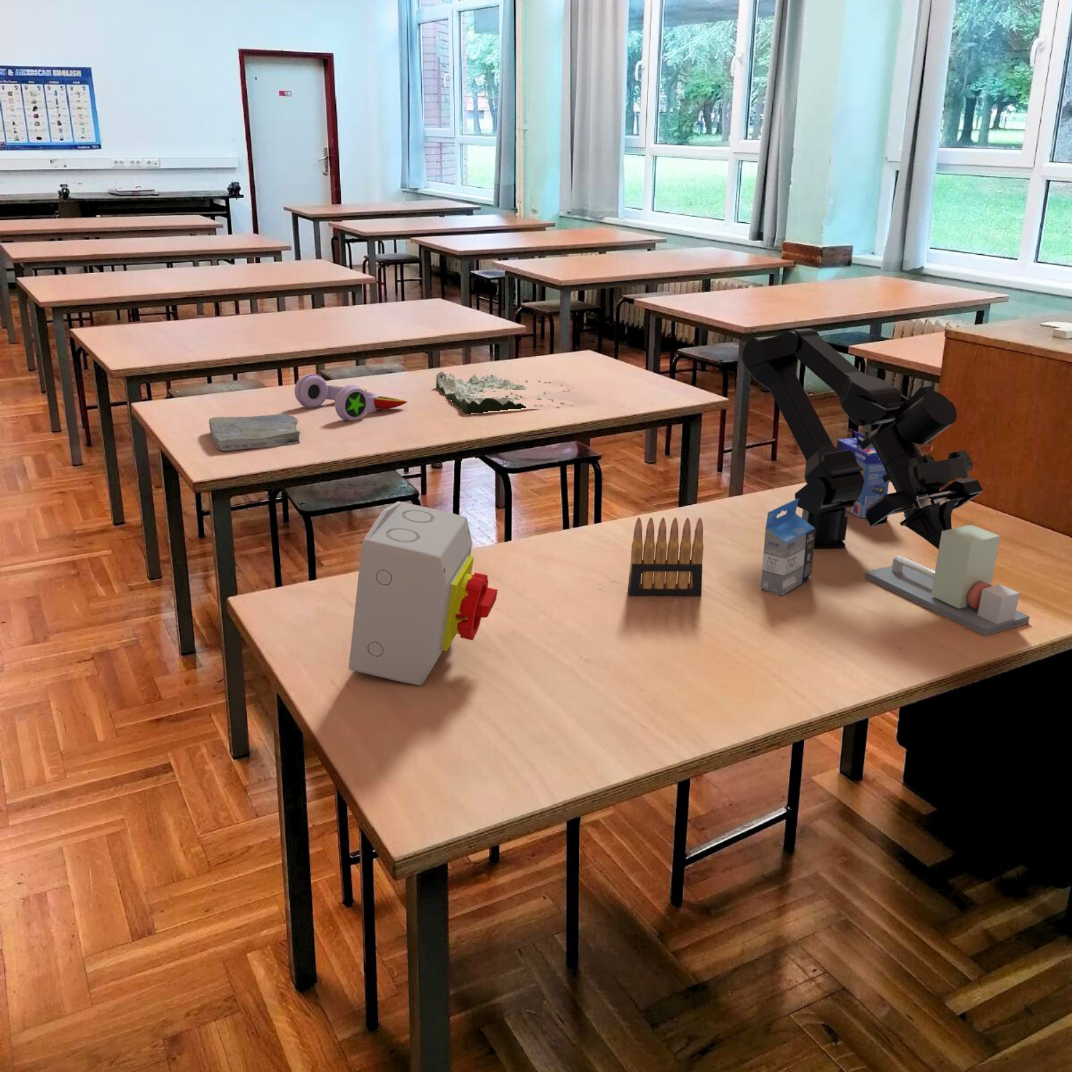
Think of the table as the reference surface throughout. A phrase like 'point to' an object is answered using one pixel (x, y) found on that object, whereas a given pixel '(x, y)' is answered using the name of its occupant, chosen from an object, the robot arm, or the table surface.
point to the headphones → (341, 397)
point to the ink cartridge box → (865, 474)
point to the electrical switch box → (415, 592)
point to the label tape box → (787, 550)
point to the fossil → (253, 431)
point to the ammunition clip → (666, 561)
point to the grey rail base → (982, 614)
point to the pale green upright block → (963, 563)
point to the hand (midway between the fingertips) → (950, 553)
